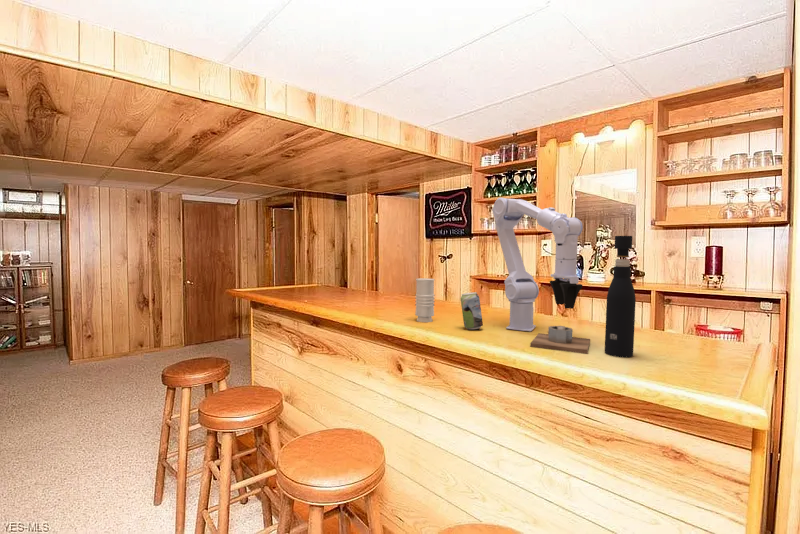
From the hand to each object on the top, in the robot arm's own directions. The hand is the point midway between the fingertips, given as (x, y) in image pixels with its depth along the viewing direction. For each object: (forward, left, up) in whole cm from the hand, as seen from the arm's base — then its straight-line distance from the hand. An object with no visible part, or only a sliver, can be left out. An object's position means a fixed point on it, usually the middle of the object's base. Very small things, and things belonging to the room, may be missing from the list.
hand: (564, 306), depth 115 cm
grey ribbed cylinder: (-6, -47, -10) cm, 48 cm away
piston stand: (+6, 0, -10) cm, 12 cm away
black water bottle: (+9, +14, -10) cm, 19 cm away
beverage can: (-1, -28, -10) cm, 30 cm away
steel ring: (+6, 0, -9) cm, 11 cm away
